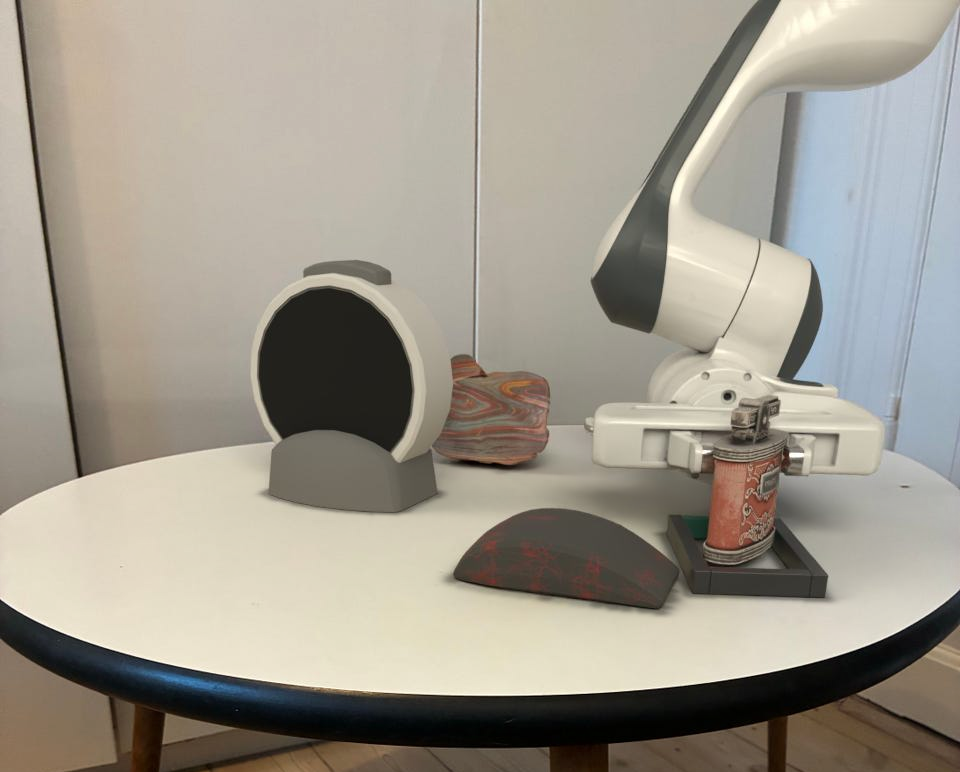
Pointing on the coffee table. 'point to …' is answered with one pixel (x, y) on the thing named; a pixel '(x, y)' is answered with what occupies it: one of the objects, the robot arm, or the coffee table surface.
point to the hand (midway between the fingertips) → (753, 462)
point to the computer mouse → (569, 559)
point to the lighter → (745, 484)
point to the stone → (494, 415)
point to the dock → (794, 581)
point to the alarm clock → (351, 389)
